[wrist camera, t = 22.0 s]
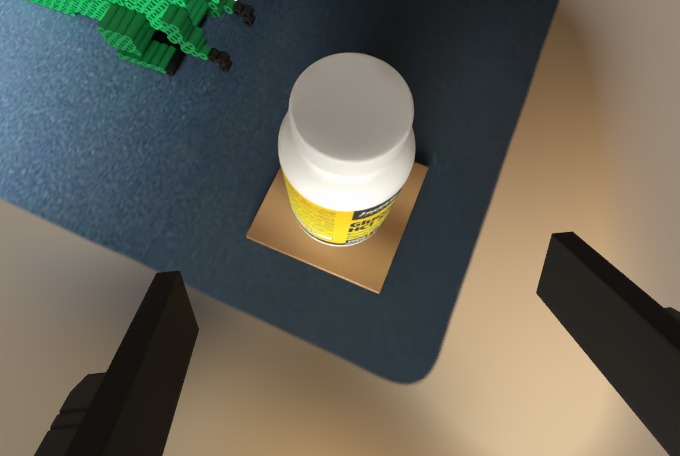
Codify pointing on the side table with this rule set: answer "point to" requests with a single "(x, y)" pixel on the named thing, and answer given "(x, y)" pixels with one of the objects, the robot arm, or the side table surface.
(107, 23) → the green brick dinosaur
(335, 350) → the side table surface
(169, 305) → the robot arm
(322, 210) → the pill bottle
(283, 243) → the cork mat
